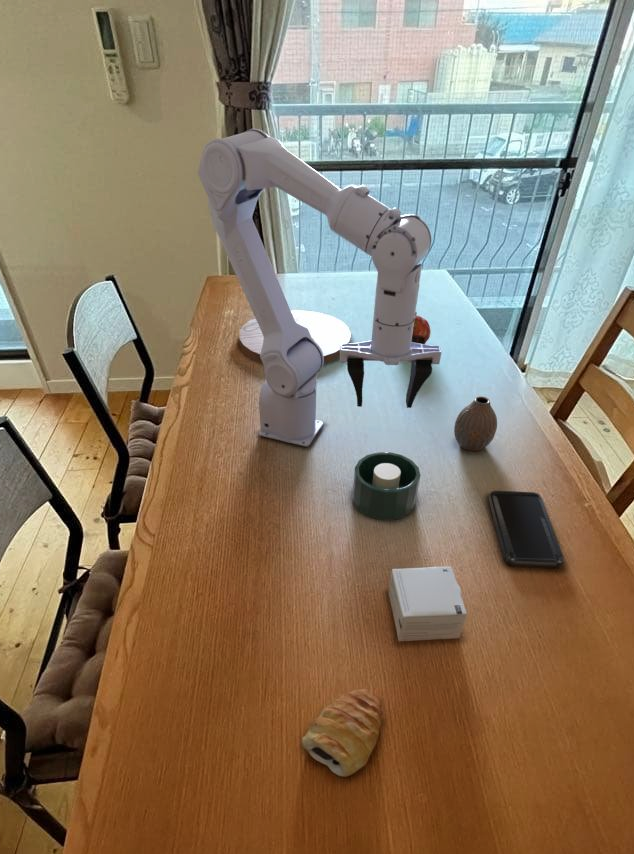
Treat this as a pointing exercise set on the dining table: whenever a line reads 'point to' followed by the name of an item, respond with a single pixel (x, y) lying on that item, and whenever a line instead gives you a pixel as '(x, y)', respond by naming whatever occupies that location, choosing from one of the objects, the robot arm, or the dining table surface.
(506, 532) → the phone
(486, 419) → the vase
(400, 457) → the dark green bowl
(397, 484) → the candle
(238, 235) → the robot arm
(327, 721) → the pastry
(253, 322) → the trivet
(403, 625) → the small box
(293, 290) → the dining table surface
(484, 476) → the dining table surface
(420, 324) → the pomegranate
